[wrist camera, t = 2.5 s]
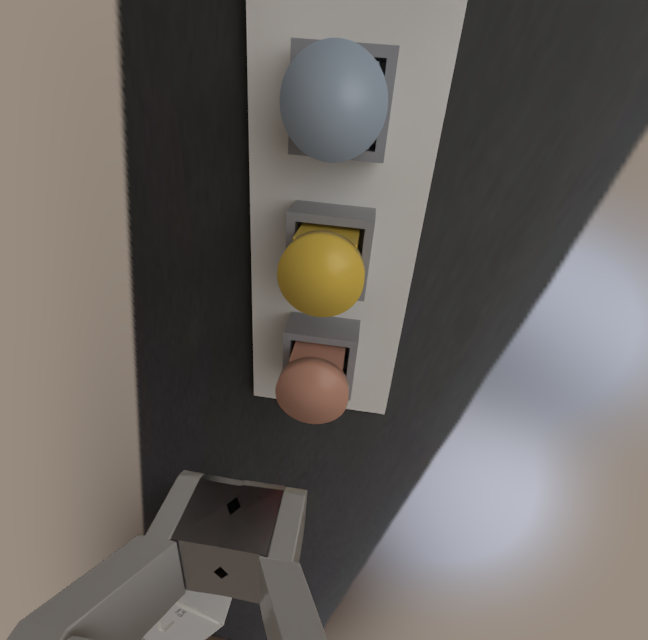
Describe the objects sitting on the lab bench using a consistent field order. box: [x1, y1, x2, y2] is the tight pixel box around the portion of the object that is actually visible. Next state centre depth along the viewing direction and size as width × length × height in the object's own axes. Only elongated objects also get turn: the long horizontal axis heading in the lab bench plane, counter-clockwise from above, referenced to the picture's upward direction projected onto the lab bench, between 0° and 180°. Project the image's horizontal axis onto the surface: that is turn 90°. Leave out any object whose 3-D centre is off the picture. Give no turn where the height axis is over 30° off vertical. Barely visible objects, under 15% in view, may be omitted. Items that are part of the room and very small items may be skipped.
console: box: [246, 0, 468, 414], centre depth 25 cm, size 28×11×4 cm, turn 176°
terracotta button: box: [275, 341, 349, 424], centre depth 26 cm, size 5×5×4 cm
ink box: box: [143, 590, 232, 640], centre depth 37 cm, size 9×5×12 cm, turn 147°
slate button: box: [280, 38, 388, 163], centre depth 18 cm, size 5×5×4 cm
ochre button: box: [277, 222, 365, 317], centre depth 22 cm, size 5×5×4 cm
